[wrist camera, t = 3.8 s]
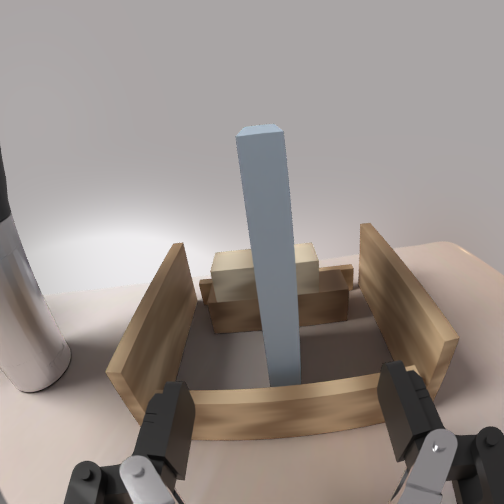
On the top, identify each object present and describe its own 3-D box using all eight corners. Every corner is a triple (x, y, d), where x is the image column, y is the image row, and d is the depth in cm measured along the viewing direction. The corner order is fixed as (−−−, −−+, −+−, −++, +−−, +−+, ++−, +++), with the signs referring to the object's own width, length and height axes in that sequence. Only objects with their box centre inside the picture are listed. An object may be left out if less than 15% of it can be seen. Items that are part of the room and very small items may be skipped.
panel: (273, 411, 22) (235, 136, 13) (271, 339, 30) (244, 127, 22) (301, 409, 22) (283, 131, 13) (293, 336, 30) (273, 123, 21)
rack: (147, 436, 20) (105, 371, 17) (188, 301, 38) (173, 243, 35) (428, 410, 19) (459, 337, 15) (367, 283, 36) (370, 223, 33)
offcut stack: (214, 333, 32) (199, 272, 29) (218, 311, 36) (206, 253, 32) (347, 320, 31) (350, 257, 28) (339, 299, 35) (340, 239, 31)
